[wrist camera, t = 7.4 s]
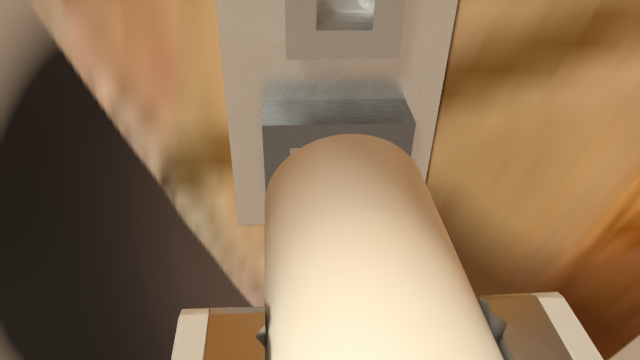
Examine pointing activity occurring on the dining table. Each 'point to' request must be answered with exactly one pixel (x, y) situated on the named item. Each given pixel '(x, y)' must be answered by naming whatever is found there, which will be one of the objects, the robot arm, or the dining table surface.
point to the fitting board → (328, 79)
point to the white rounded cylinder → (363, 261)
